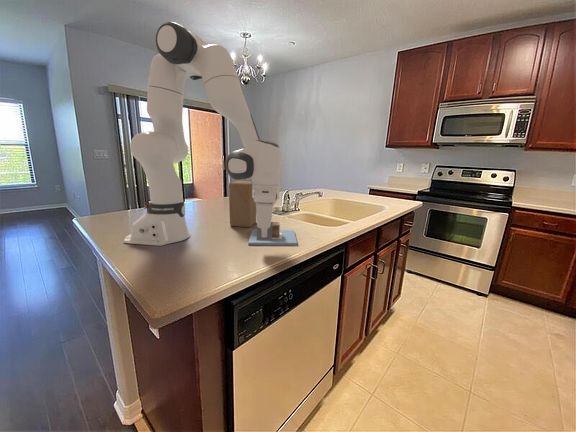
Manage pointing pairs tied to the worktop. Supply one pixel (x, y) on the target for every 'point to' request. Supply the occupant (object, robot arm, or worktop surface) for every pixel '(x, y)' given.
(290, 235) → the board
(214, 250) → the worktop surface
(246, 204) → the block
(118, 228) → the worktop surface
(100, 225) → the worktop surface
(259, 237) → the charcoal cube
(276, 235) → the walnut cube
